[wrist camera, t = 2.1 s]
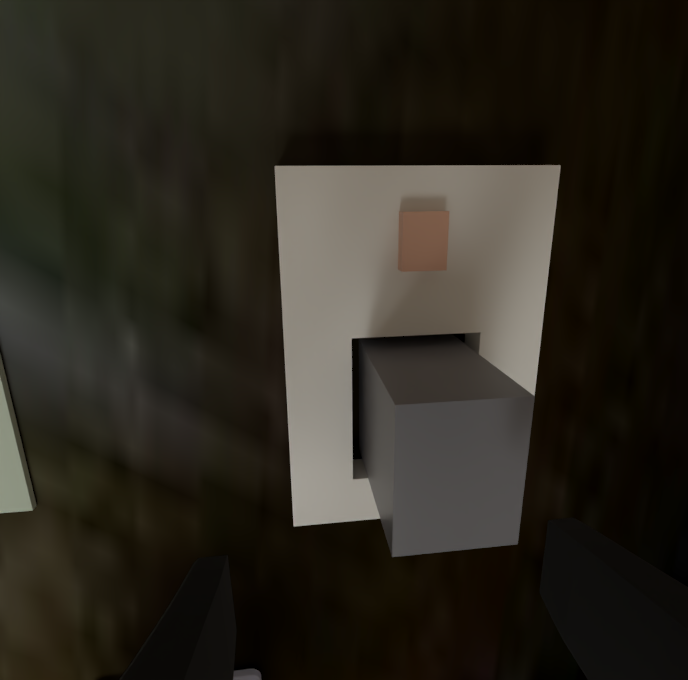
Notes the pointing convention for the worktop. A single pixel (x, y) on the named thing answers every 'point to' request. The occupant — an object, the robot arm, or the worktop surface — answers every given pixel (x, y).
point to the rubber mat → (12, 458)
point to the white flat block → (399, 292)
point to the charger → (442, 444)
